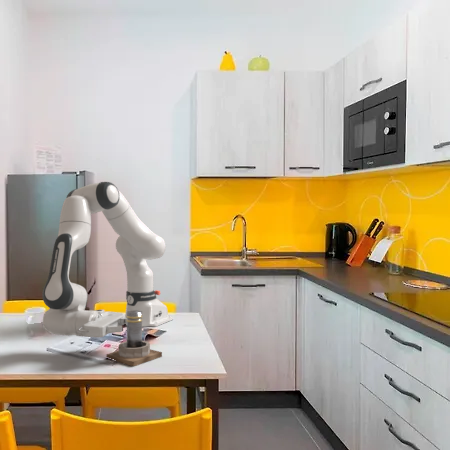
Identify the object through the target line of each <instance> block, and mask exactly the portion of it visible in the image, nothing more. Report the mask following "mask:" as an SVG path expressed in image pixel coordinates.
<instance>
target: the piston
mask: <svg viewBox="0 0 450 450" xmlns="http://www.w3.org/2000/svg"><path fill="white" fill-rule="evenodd" d="M126 341H127V348H139V347H142V341H143V327H142V311H138V310H132V311H128V312H127V325H126Z"/></svg>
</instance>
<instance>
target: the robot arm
mask: <svg viewBox="0 0 450 450" xmlns="http://www.w3.org/2000/svg"><path fill="white" fill-rule="evenodd" d="M65 197H66V198H65V199H64V201H63V204H62V206H61V211H60V216H59V223H58V224H59V225H58V226H59V227H58V235H57V237H56V239H55V241H54V244H53V249H52V253H51V254H52V255H51V260H50V261H51V262H50V266H49V267H50V268H49V273H48V276H47V280H46V281H45V284H44V286H43V288H42V289H43V290H42V292H41V293H42V295H41V296H42V301H43V302H44V304H45V306H46V307H47V308H49V309H47V310H46V311H45V312H44V313H43V317H42V323H43V328H44V329H45V330H46V331H47V332H48V333H50V334H53V335H58V336H77V337H84V338H104V337H105V336H107V335H108V334H113V333H114V334H115V333H122V332H123V331H124V326H127V312H128V311H132V310H138V311H142V328H143V327H159V326H160V325H162V324H166V323H168V322H170V321H173V320H174V317H173V316H171V315H169V314H168V312H169V311H168V307H167V305H166V304H164V303H163V302H162V301H161V300H159V299H158V298H157V296H160V295H161V290H158V289H156V290H154V272H153V270H152V269H151V267H150V266H149V265H148V263H147V261H149V260H150V261H152V260H157V259H160V258H161V257H163V256H164V254H165V252H166V247H167V246H166V241H165V240H164V238H163V237H162V236H159V235H158V234H157V233H155V232H153V231H152V230H151V229H150V228H149V227H148V226H147V225H146V224H145V223H144V222H143V221H142V220H141V219H140V218H139V217H138V215H137V213H136V212H135V210H134V209H133V208H132V206H131V204H130V202H129V201H128V200H127V198H126V197H125V196H124V194H123V193H122V192H121V191H120V190H119V189H118V187H117V186H116V185H115V184H114V183H113V182H111V181H100V182H97V183H90V184H87V185H85V186H82V187H79V188H75V189H72V190H71V191H70V192H69V193H68V194H67V195H66V196H65ZM100 212H102V214H103V216H104V217H105V219H106V220H107V222H108V223H109V225H110V226H111V227H112V229H113V231H114V232H115V234H117V235H118V237H117V238H116V241H115V249H116V252H117V253H118V254H119V255H120V257H121V258H122V260H123V264H124V266H125V270H126V271H125V272H126V281H127V282H126V283H127V284H126V285H127V286H126V287H127V290H126V292H125V298H126V307H125V308H126V309H125V313H123V312H115V311H105V309H95V310H89V311H88V310H85V307H87V303H88V296H89V295H88V292H87V290H86V288H85V287H84V286H83V285H81V284H78V283H75V282H71V280H70V278H69V275H70V270H71V268H70V267H71V261H72V256H73V254H74V253H75V251H77V250H81V249H82V248H84V247H85V246H86V245H87V244H89V242H90V238H91V233H92V215H93V214H97V213H100ZM124 324H126V325H124ZM123 325H124V326H123Z"/></svg>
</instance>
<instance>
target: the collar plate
mask: <svg viewBox="0 0 450 450" xmlns="http://www.w3.org/2000/svg"><path fill="white" fill-rule="evenodd" d="M106 357H109V358H111V359H114V360H116V361H117V362H116V361H115V362H116V363H119V364H124V365H127V366H130V367H134V368H135V367H136V366H139V365H142V364H145V363H148V362H151V361H153V360H157V359H158V358H162V357H163V352H161V351H158V350H154V349H152V348H151V344H150V342H149V341H147V340H146V341H145V340H142V347H139V348H127V340H126V341H123V342H120V343H119V344H118V350H115V351H113V352H109V353H107V354H106Z"/></svg>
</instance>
